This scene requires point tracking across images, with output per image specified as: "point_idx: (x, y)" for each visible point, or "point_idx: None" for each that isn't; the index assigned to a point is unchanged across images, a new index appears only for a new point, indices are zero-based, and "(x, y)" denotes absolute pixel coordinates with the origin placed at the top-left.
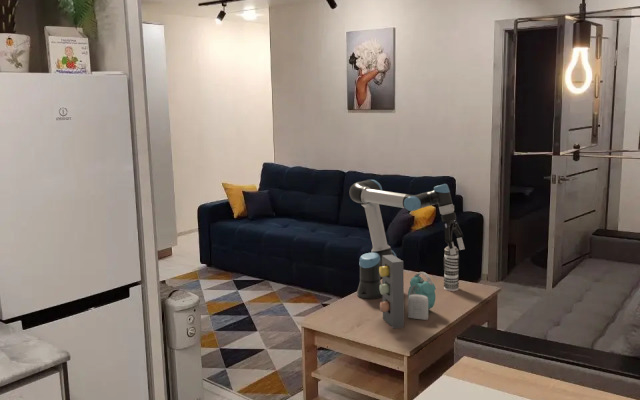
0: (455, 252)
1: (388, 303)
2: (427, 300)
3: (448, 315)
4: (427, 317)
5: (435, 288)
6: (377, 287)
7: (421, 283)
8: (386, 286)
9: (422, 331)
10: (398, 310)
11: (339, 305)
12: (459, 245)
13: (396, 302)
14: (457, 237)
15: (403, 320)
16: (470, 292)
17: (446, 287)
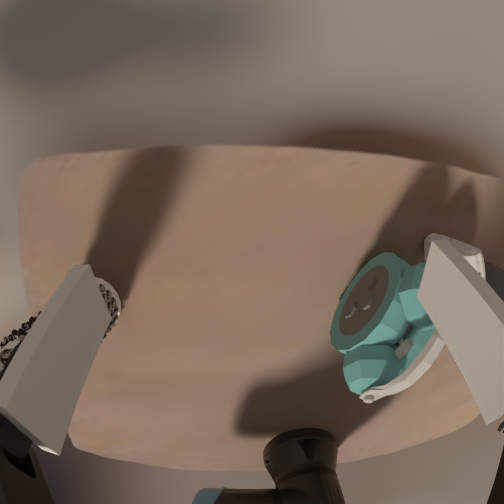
0: (451, 250)
1: None
2: (474, 248)
3: (379, 186)
4: (438, 234)
5: (419, 265)
6: (319, 453)
7: (412, 338)
8: None
9: (495, 208)
10: None
11: (394, 445)
12: (86, 352)
13: None
14: (34, 454)
15: (499, 268)
16: (92, 223)
17: (116, 315)
